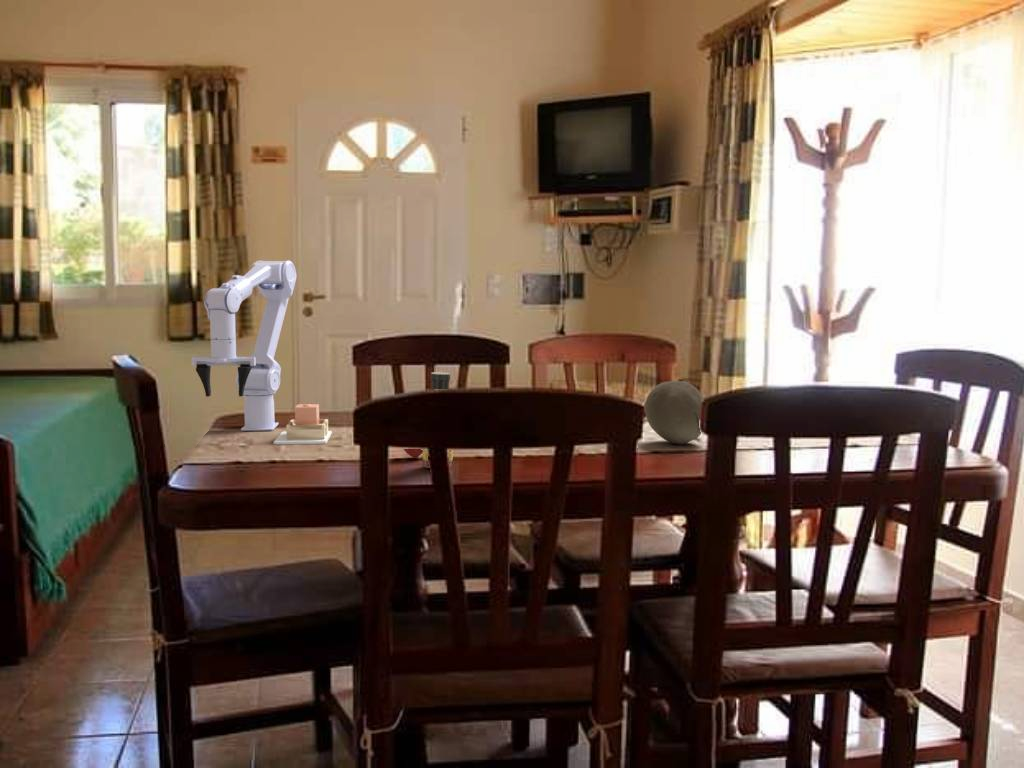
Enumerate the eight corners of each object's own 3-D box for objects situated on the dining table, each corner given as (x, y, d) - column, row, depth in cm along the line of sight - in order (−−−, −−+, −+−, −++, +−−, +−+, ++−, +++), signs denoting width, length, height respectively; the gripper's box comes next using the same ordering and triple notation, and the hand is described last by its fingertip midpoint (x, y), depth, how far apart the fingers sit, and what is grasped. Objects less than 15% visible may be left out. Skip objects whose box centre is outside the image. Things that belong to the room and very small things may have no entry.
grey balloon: (699, 438, 234) (701, 377, 232) (710, 449, 220) (712, 384, 218) (641, 438, 234) (642, 377, 232) (648, 449, 220) (649, 384, 218)
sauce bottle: (423, 471, 196) (423, 374, 193) (421, 465, 202) (421, 371, 199) (455, 470, 197) (455, 374, 194) (452, 464, 203) (452, 370, 200)
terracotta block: (298, 424, 233) (298, 403, 232) (319, 424, 233) (318, 403, 233) (295, 428, 228) (294, 406, 227) (316, 428, 228) (316, 406, 228)
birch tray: (291, 433, 235) (291, 419, 235) (328, 432, 236) (328, 419, 235) (286, 439, 226) (286, 425, 226) (324, 439, 227) (324, 425, 227)
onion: (426, 461, 206) (426, 424, 205) (399, 460, 206) (399, 424, 205) (429, 455, 211) (429, 420, 210) (403, 455, 212) (403, 419, 211)
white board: (282, 433, 237) (282, 431, 237) (331, 433, 238) (331, 430, 238) (273, 444, 224) (273, 441, 223) (325, 443, 225) (325, 441, 224)
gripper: (187, 340, 223) (189, 398, 224) (251, 340, 224) (252, 397, 226) (194, 338, 230) (196, 394, 231) (256, 338, 231) (257, 394, 233)
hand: (224, 396), depth 229 cm, fingers open, 7 cm apart
